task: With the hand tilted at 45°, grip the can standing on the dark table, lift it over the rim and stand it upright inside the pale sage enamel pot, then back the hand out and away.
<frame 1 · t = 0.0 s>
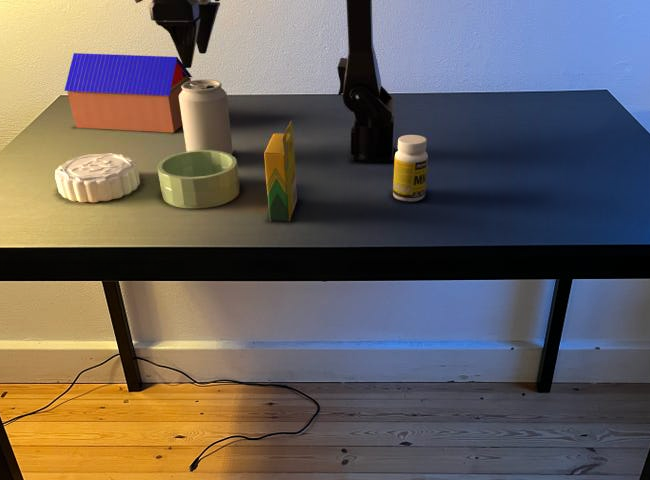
hand: (195, 60, 107), 15 cm above the table, tool pointing down, fingers open, 9 cm apart
can: (210, 159, 113), on the table
crayon box: (283, 211, 97), on the table
supplement bottle: (408, 197, 100), on the table
pot: (201, 192, 102), on the table
mooncake: (100, 188, 104), on the table
house: (137, 121, 130), on the table
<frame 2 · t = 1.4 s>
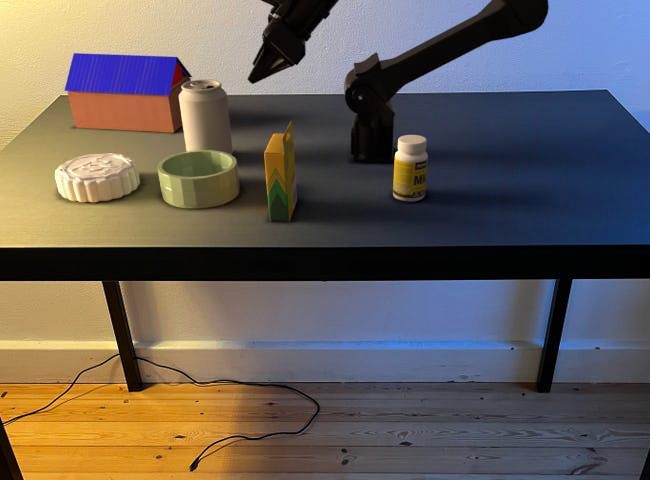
hand: (252, 73, 105), 13 cm above the table, tool tilted 45°, fingers open, 9 cm apart
nothing on the table moved.
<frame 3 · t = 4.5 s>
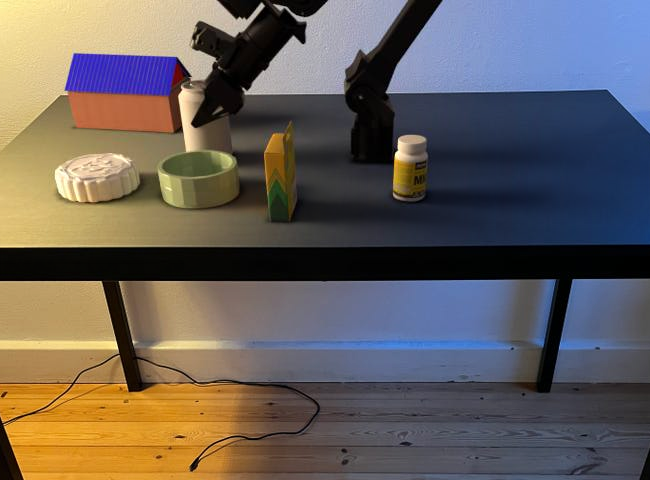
hand: (196, 118, 109), 7 cm above the table, tool tilted 45°, fingers closed on can, 7 cm apart
can: (210, 159, 113), on the table, touching gripper
everything else where it was.
when the fingers open (7 cm above the table, at t = 11.8 s): can stays where it is, resting on pot.
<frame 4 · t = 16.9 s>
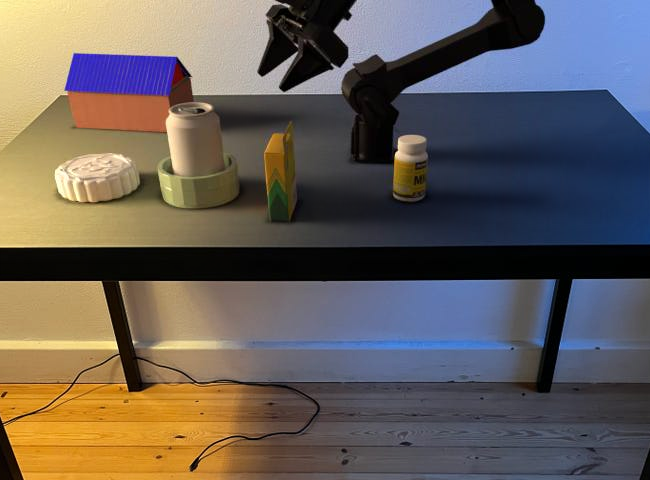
hand: (269, 82, 100), 14 cm above the table, tool tilted 45°, fingers open, 9 cm apart
can: (202, 190, 102), resting on pot
everything else where it was.
at the end: can 0.2 cm off-centre in the pot, point 0.3 cm above the pot's base; can tilted 0°; the gripper is holding nothing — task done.
